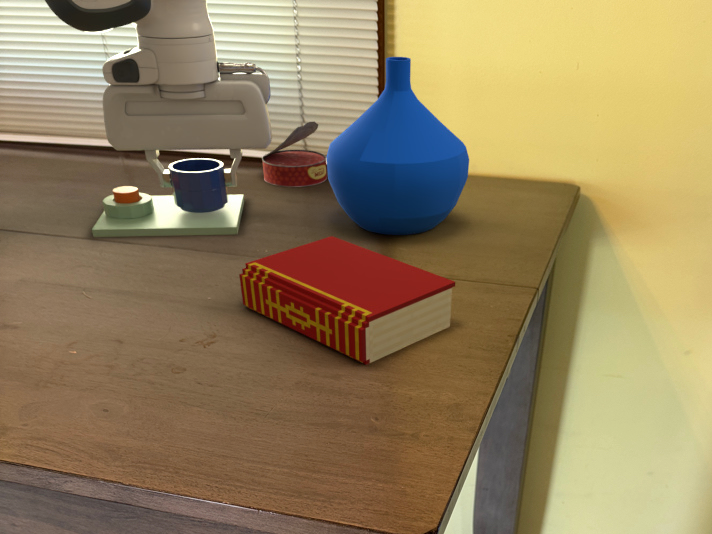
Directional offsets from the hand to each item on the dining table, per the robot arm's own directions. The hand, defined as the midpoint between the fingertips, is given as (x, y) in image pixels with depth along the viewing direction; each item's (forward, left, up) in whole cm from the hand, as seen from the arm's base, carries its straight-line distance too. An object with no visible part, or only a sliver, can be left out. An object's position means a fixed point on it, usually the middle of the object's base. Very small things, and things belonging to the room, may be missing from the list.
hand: (199, 185), depth 99 cm
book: (+18, -33, -5) cm, 38 cm away
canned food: (+12, +20, -5) cm, 24 cm away
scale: (-4, 0, -4) cm, 6 cm away
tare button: (-9, 0, -2) cm, 10 cm away
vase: (+26, -3, -5) cm, 27 cm away
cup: (0, 0, -2) cm, 3 cm away
